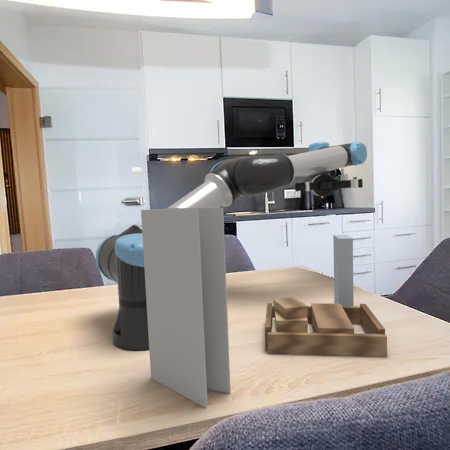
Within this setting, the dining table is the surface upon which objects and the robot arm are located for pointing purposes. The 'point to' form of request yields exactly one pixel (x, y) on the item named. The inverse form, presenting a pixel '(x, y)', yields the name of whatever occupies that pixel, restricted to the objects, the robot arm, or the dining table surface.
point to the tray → (330, 333)
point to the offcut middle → (291, 324)
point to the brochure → (187, 300)
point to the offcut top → (290, 308)
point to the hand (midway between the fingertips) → (332, 185)
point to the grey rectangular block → (343, 270)
